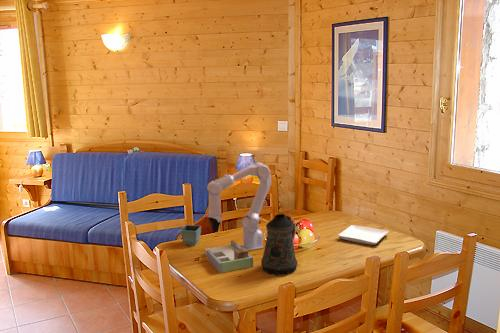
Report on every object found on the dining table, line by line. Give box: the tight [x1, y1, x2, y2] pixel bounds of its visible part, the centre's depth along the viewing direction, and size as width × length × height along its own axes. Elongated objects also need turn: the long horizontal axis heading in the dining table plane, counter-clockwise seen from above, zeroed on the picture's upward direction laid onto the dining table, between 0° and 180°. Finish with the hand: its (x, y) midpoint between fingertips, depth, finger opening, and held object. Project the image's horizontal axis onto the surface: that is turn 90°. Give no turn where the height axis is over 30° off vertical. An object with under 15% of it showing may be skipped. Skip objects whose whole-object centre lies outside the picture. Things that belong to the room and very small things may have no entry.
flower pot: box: [179, 224, 202, 246], centre depth 255 cm, size 9×9×9 cm
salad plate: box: [337, 224, 389, 246], centre depth 261 cm, size 21×21×3 cm
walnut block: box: [234, 247, 249, 260], centre depth 226 cm, size 5×5×5 cm
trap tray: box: [204, 240, 254, 274], centre depth 234 cm, size 16×25×4 cm, turn 23°
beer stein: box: [260, 213, 298, 277], centre depth 222 cm, size 16×19×25 cm
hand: (215, 232), depth 243 cm, fingers closed
